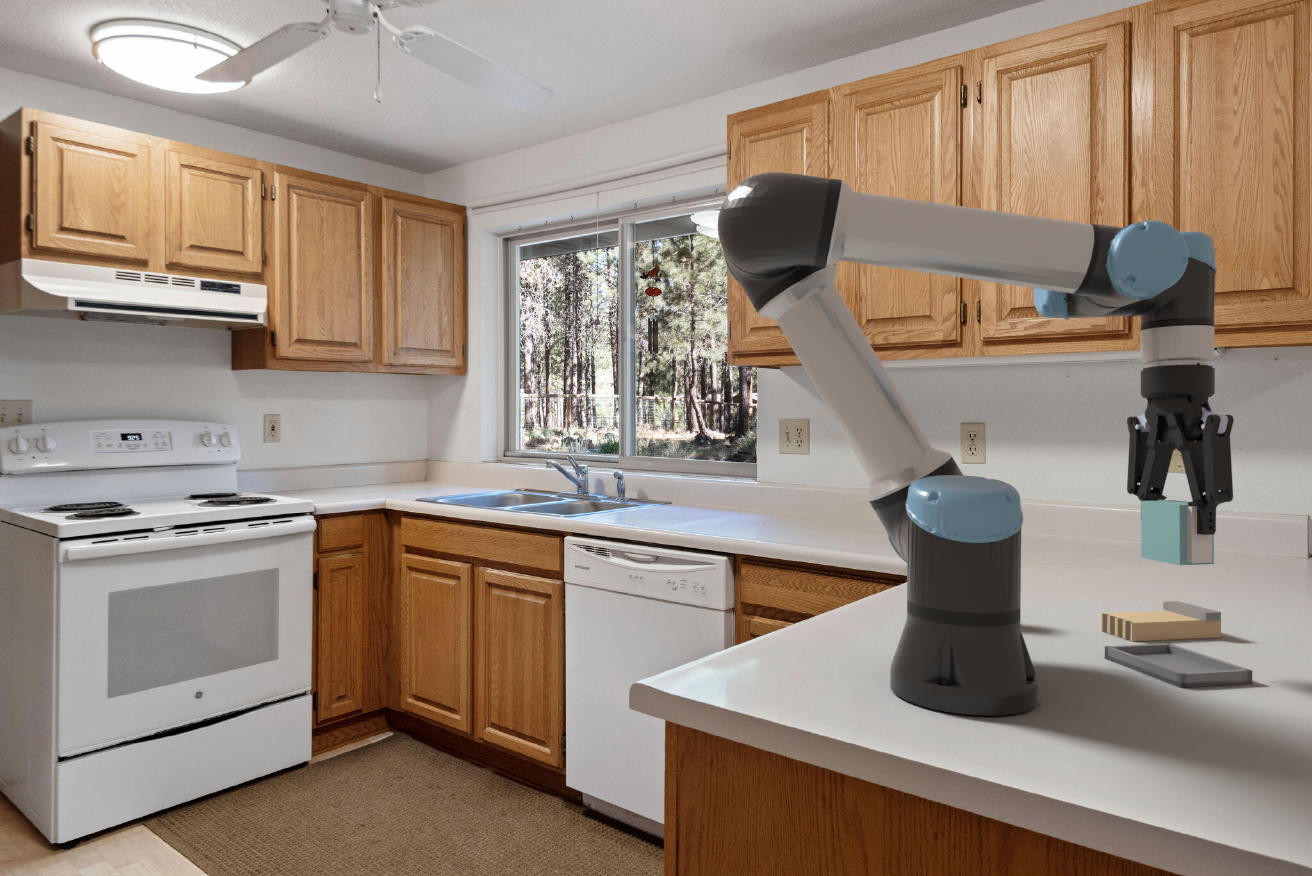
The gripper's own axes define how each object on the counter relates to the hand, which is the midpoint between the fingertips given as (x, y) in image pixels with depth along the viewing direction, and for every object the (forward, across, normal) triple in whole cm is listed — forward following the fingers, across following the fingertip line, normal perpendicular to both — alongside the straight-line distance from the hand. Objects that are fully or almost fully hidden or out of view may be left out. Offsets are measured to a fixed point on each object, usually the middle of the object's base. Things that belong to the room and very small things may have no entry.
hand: (1176, 557), depth 99 cm
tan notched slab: (+14, +16, -12) cm, 24 cm away
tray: (+14, 0, 0) cm, 14 cm away
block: (0, 0, 0) cm, 0 cm away
